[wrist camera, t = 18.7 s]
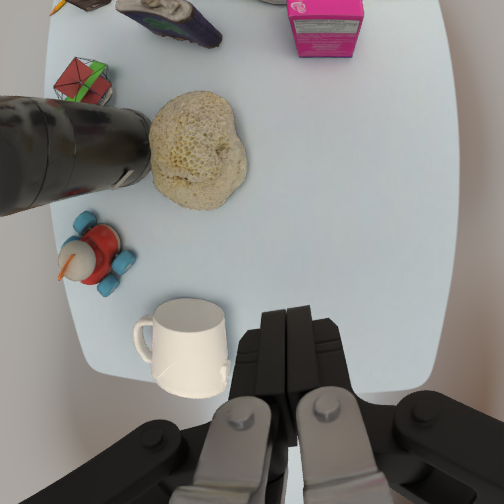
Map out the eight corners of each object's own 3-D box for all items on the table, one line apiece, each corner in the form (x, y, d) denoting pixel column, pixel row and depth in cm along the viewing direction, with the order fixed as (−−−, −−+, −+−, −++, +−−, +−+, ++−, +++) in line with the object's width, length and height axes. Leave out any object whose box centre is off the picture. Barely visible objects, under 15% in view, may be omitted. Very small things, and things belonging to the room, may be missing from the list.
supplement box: (292, 13, 28) (281, -41, 17) (347, 13, 26) (358, -41, 16) (296, 59, 29) (287, 16, 18) (353, 59, 28) (369, 17, 17)
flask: (150, 34, 31) (99, 4, 21) (160, 14, 30) (114, -21, 20) (216, 52, 30) (179, 17, 20) (228, 30, 29) (195, -11, 19)
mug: (238, 305, 38) (220, 340, 31) (234, 367, 41) (218, 407, 34) (147, 289, 40) (115, 316, 33) (152, 349, 43) (125, 382, 36)
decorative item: (120, 116, 30) (180, 71, 24) (181, 119, 37) (244, 86, 31) (140, 226, 32) (207, 207, 25) (201, 214, 38) (269, 197, 32)
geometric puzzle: (66, 60, 24) (130, 61, 30) (50, 54, 27) (106, 53, 33) (57, 124, 28) (118, 118, 34) (42, 109, 31) (96, 104, 37)
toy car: (69, 250, 41) (20, 273, 32) (95, 203, 38) (42, 219, 29) (111, 295, 42) (68, 328, 32) (142, 252, 39) (96, 281, 29)
